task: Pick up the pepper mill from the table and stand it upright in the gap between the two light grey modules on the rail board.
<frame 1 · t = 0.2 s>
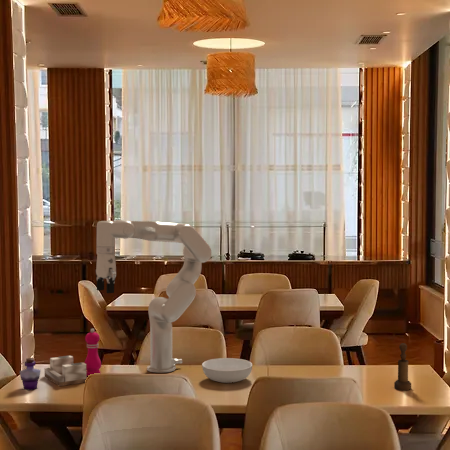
hand: (105, 291, 321), 36 cm above the table, tool pointing down, fingers open, 9 cm apart
potion bottle: (30, 388, 306), on the table
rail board: (65, 379, 320), on the table
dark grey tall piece: (402, 388, 305), on the table
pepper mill: (92, 375, 326), on the table
serving bowl: (227, 380, 318), on the table
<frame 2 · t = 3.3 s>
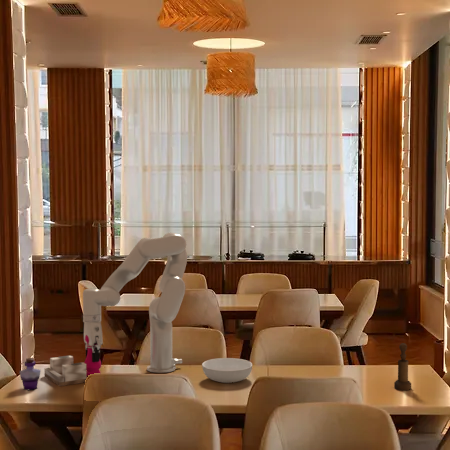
hand: (92, 359, 325), 7 cm above the table, tool pointing down, fingers closed on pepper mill, 6 cm apart
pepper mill: (92, 375, 326), on the table, touching gripper
everything else where it was.
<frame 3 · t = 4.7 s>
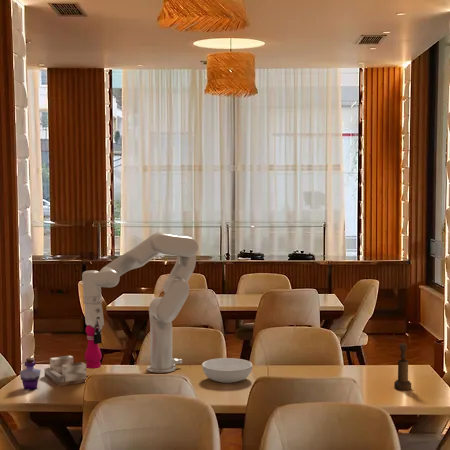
hand: (94, 341, 325), 14 cm above the table, tool pointing down, fingers closed on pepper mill, 5 cm apart
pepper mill: (93, 367, 326), point 3 cm above the table, touching gripper
everything else where it was.
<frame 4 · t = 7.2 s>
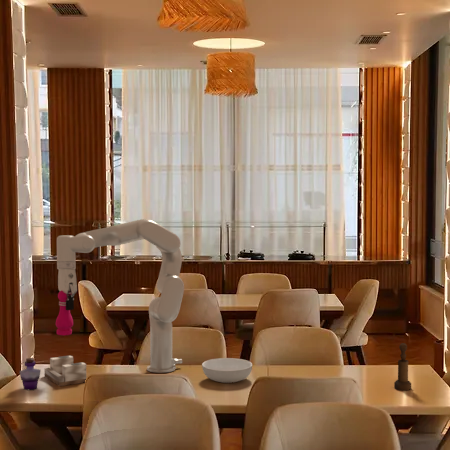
hand: (67, 308, 318), 30 cm above the table, tool pointing down, fingers closed on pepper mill, 5 cm apart
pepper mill: (64, 334, 319), point 19 cm above the table, touching gripper
everything else where it was.
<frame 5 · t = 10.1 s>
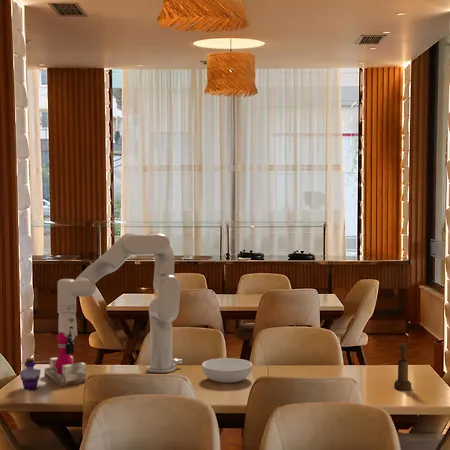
hand: (67, 351, 319), 11 cm above the table, tool pointing down, fingers open, 5 cm apart
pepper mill: (64, 375, 320), point 1 cm above the table, touching gripper, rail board
everything else where it was.
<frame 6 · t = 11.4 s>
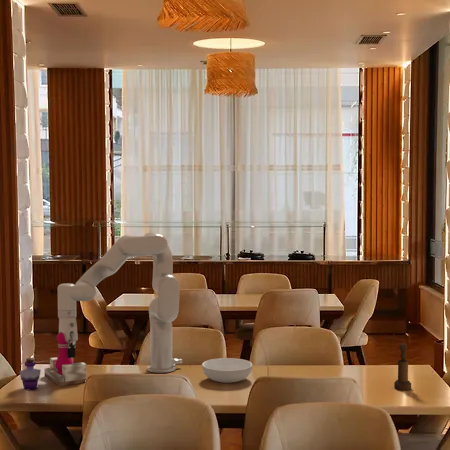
hand: (67, 355, 319), 10 cm above the table, tool pointing down, fingers open, 7 cm apart
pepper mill: (64, 375, 320), point 1 cm above the table, touching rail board
everything else where it was.
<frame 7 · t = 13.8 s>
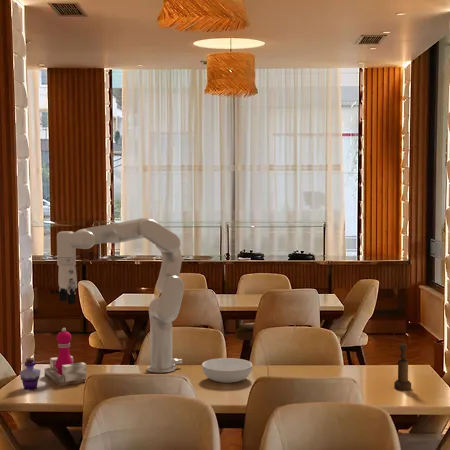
hand: (67, 302, 318), 32 cm above the table, tool pointing down, fingers open, 9 cm apart
nothing on the table moved.
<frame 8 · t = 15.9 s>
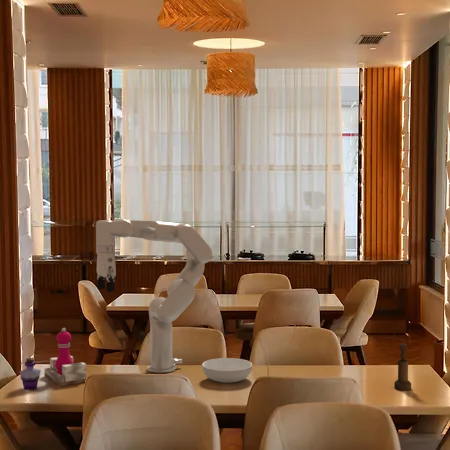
hand: (105, 290, 324), 36 cm above the table, tool pointing down, fingers open, 9 cm apart
nothing on the table moved.
at the end: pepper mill 1.4 cm from the target spot on the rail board, point 1.3 cm above the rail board's base; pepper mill tilted 0°; the gripper is holding nothing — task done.
